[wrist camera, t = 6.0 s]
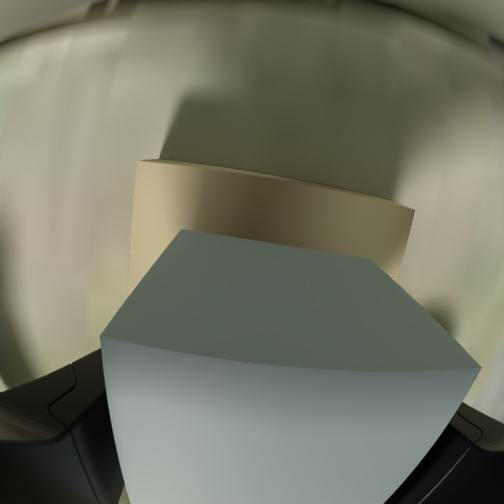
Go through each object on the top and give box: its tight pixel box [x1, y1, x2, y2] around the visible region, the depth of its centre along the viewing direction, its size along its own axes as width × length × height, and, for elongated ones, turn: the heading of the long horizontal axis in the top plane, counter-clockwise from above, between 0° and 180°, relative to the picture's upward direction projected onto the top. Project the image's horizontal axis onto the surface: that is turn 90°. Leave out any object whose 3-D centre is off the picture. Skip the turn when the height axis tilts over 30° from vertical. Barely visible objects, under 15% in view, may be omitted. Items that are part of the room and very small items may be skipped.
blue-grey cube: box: [100, 229, 482, 504], centre depth 7 cm, size 6×6×6 cm
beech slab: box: [128, 159, 415, 297], centre depth 12 cm, size 9×9×2 cm
